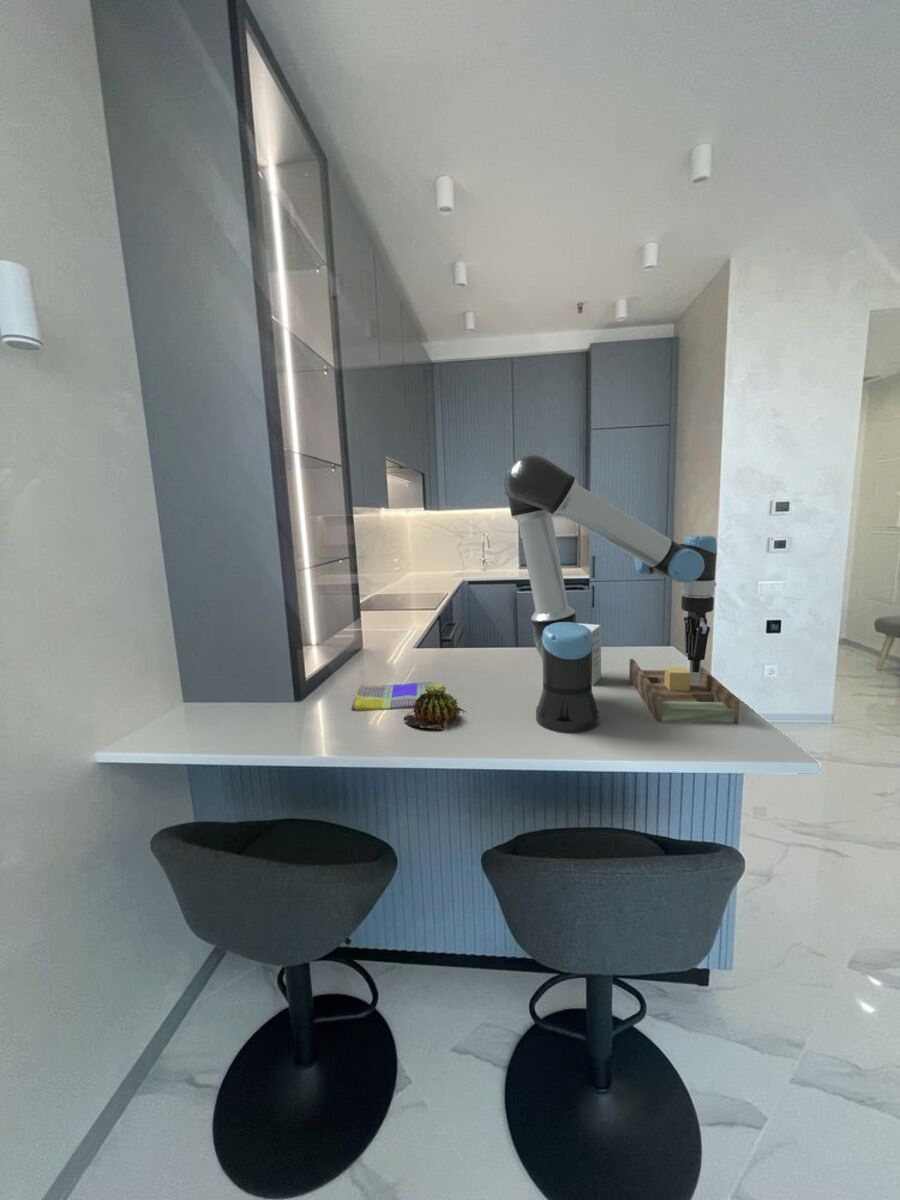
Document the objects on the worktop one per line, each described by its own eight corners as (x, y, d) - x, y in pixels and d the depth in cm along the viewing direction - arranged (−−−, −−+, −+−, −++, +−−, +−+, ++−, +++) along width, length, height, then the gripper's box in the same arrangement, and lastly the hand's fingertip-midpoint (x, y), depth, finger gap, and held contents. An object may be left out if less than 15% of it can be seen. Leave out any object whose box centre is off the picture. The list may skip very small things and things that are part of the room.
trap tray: (737, 726, 118) (739, 700, 116) (657, 724, 120) (658, 698, 119) (692, 680, 150) (693, 659, 149) (629, 679, 152) (629, 658, 151)
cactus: (477, 711, 133) (476, 676, 131) (460, 737, 118) (459, 697, 116) (416, 706, 138) (415, 672, 137) (393, 730, 123) (391, 692, 122)
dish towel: (438, 710, 135) (438, 700, 135) (348, 714, 135) (347, 704, 135) (439, 688, 152) (439, 679, 152) (359, 691, 152) (358, 682, 152)
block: (689, 690, 133) (690, 672, 132) (669, 690, 134) (670, 672, 133) (683, 684, 138) (684, 667, 137) (664, 684, 139) (665, 666, 138)
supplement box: (601, 677, 155) (602, 624, 152) (593, 687, 147) (593, 631, 144) (571, 673, 160) (571, 622, 157) (561, 682, 152) (561, 628, 149)
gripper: (722, 599, 123) (717, 691, 127) (704, 591, 136) (700, 674, 140) (690, 599, 124) (686, 690, 128) (675, 591, 137) (671, 674, 141)
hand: (693, 682), depth 134 cm, fingers closed
